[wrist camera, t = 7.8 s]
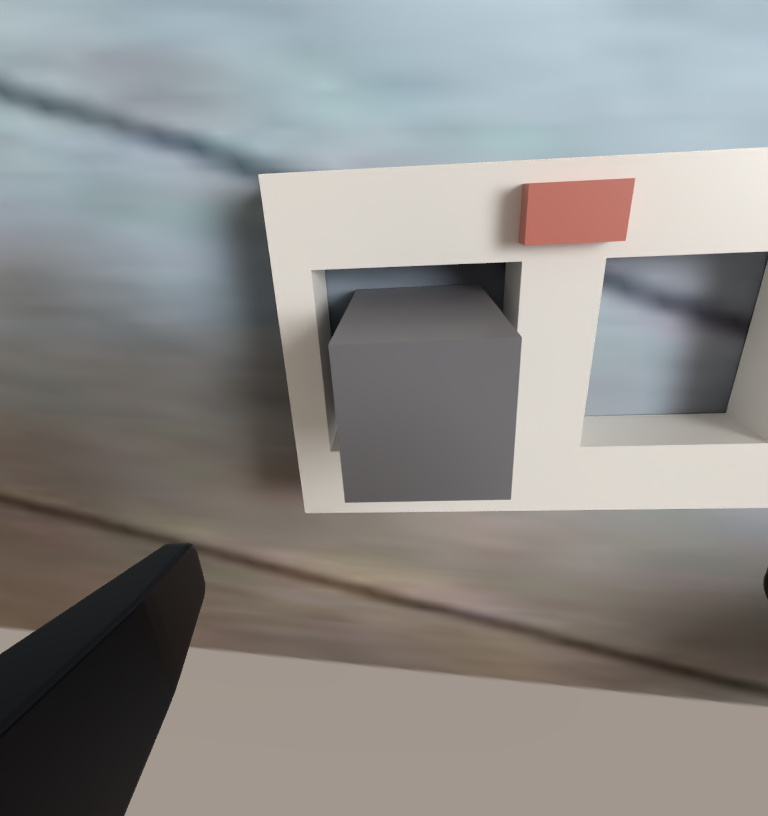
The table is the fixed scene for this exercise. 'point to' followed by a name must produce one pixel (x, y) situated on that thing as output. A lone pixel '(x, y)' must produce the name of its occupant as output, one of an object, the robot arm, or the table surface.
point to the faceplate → (535, 312)
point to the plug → (425, 395)
